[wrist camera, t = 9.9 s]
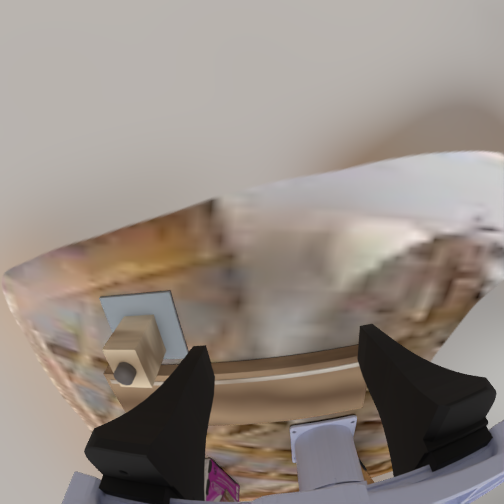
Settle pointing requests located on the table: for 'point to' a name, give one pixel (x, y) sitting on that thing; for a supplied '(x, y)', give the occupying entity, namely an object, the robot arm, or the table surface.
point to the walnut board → (271, 387)
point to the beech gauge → (135, 351)
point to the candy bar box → (219, 484)
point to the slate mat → (149, 305)
